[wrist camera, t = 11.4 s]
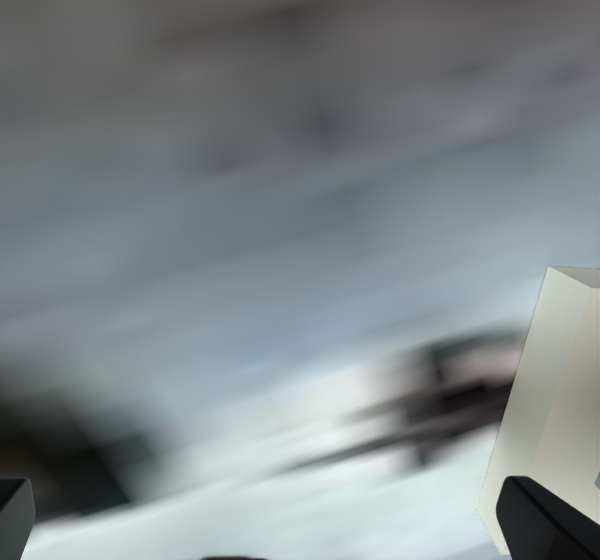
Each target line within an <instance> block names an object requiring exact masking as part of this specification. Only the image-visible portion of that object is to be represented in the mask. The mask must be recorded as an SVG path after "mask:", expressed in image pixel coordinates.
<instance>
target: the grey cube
mask: <svg viewBox="0 0 600 560" xmlns="http://www.w3.org/2000/svg"><path fill="white" fill-rule="evenodd" d="M594 484H595V485H596V486H597V487H598V489H599V490H600V471H599V474H598V476H597V478H596V481H595V483H594Z"/></svg>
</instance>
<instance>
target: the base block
mask: <svg viewBox="0 0 600 560" xmlns="http://www.w3.org/2000/svg"><path fill="white" fill-rule="evenodd" d="M599 471H600V269H587V268H570V267H553V266H548V268H547V272H546V275H545V279H544V282H543V285H542V289H541V292H540V295H539V299H538V302H537V305H536V309H535V312H534V315H533V319H532V322H531V326H530V329H529V332H528V336H527V339H526V342H525V346H524V349H523V352H522V356H521V359H520V362H519V366H518V369H517V373H516V376H515V379H514V383H513V386H512V389H511V393H510V396H509V399H508V403H507V406H506V409H505V413H504V416H503V420H502V423H501V426H500V430H499V433H498V436H497V440H496V443H495V446H494V450H493V453H492V456H491V460H490V463H489V467H488V470H487V473H486V477H485V480H484V483H483V487H482V490H481V493H480V497H479V500H478V503H477V507H476V511H477V513H478V514H479V516H480V518H481V520H482V521H483V523H484V525H485V527H486V529H487V530H488V532H489V534H490V536H491V537H492V539H493V541H494V543H495V545H496V546H497V548H498V550H499V552H500V553H501V554H510V552H509V550H508V547H507V544H506V542H505V539H504V536H503V534H502V531H501V528H500V526H499V523H498V520H497V517H496V504H497V500H498V497H499V494H500V491H501V488H502V485H503V481H504V479H505V478H506V477H507V476H528V477H530V478H532V479H533V480H535V481H536V482H537V483H539V484H540V485H542V486H543V487H545V488H546V489H548V490H549V491H551V492H552V493H554V494H555V495H557V496H558V497H559V498H561V499H562V500H564V501H565V502H567V503H568V504H570V505H571V506H573V507H574V508H576V509H577V510H579V511H580V512H582V513H583V514H584V515H586V516H587V517H589V518H590V519H592V520H593V521H595V522H596V523H598V524H599V525H600V490H599V489H598V487H597V486H596V485H595V484H594V483H595V481H596V478H597V476H598V474H599Z"/></svg>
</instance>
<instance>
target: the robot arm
mask: <svg viewBox="0 0 600 560" xmlns="http://www.w3.org/2000/svg"><path fill="white" fill-rule="evenodd" d="M496 517H497V520H498V523H499V526H500V528H501V531H502V534H503V536H504V539H505V542H506V544H507V547H508V550H509V552H510V555H511V557H512V560H600V525H599V524H598V523H596V522H595V521H593V520H592V519H590V518H589V517H587V516H586V515H584V514H583V513H582V512H580V511H579V510H577V509H576V508H574V507H573V506H571V505H570V504H568V503H567V502H565V501H564V500H562V499H561V498H559V497H558V496H557V495H555V494H554V493H552V492H551V491H549V490H548V489H546V488H545V487H543V486H542V485H540V484H539V483H537V482H536V481H535V480H533V479H532V478H530V477H528V476H507V477H506V478H505V479H504V481H503V485H502V488H501V491H500V494H499V497H498V500H497V504H496ZM34 520H35V507H34V500H33V494H32V487H31V482H30V480H29V479H28V478H26V477H4V478H2V479H0V560H20V559H21V556H22V554H23V551H24V548H25V546H26V543H27V540H28V538H29V535H30V533H31V530H32V527H33V524H34Z"/></svg>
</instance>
